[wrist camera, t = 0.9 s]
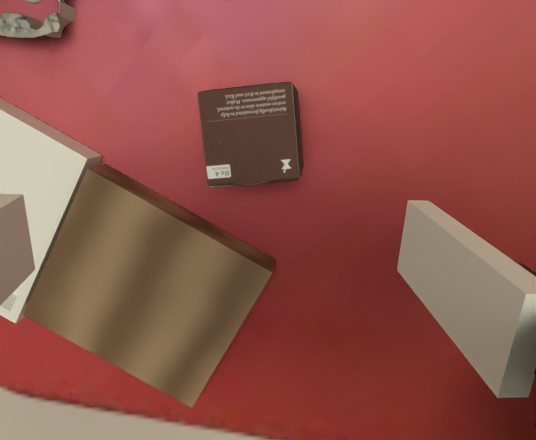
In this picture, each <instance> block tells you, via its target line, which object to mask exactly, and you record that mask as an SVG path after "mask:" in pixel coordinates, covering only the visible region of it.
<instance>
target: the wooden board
mask: <svg viewBox="0 0 536 440" xmlns="http://www.w3.org/2000/svg"><path fill="white" fill-rule="evenodd" d="M275 263H276V260H275V259H273V258H271V257H269V256H267V255H266V254H264V253H262V252H260V251H259V250H257V249H255V248H253V247H252V246H250V245H248V244H246V243H244V242H243V241H241V240H239V239H237V238H236V237H234V236H232V235H230V234H229V233H227V232H225V231H223V230H221V229H220V228H218V227H216V226H214V225H213V224H211V223H209V222H207V221H206V220H204V219H202V218H200V217H198V216H197V215H195V214H193V213H191V212H190V211H188V210H186V209H184V208H182V207H181V206H179V205H177V204H175V203H174V202H172V201H170V200H168V199H167V198H165V197H163V196H161V195H159V194H158V193H156V192H154V191H152V190H151V189H149V188H147V187H145V186H144V185H142V184H140V183H138V182H136V181H135V180H133V179H131V178H129V177H128V176H126V175H124V174H122V173H121V172H119V171H117V170H115V169H113V168H112V167H110V166H108V165H106V164H105V165H100V166H96V167H91V168H87V170H86V173H85V175H84V177H83V179H82V182H81V184H80V186H79V189H78V191H77V193H76V195H75V198H74V200H73V202H72V205H71V207H70V209H69V211H68V214H67V216H66V218H65V220H64V223H63V225H62V227H61V230H60V232H59V234H58V236H57V239H56V241H55V243H54V246H53V248H52V250H51V252H50V255H49V257H48V259H47V262H46V264H45V266H44V268H43V271H42V273H41V275H40V278H39V280H38V282H37V284H36V287H35V289H34V291H33V293H32V296H31V298H30V300H29V303H28V305H27V307H26V309H25V312H24V314H23V315H24V316H26V317H27V318H29V319H31V320H33V321H35V322H37V323H38V324H40V325H42V326H44V327H46V328H47V329H49V330H51V331H53V332H55V333H56V334H58V335H60V336H62V337H64V338H66V339H67V340H69V341H71V342H73V343H75V344H76V345H78V346H80V347H82V348H84V349H86V350H87V351H89V352H91V353H93V354H95V355H96V356H98V357H100V358H102V359H104V360H106V361H107V362H109V363H111V364H113V365H115V366H116V367H118V368H120V369H122V370H124V371H125V372H127V373H129V374H131V375H133V376H135V377H136V378H138V379H140V380H142V381H144V382H145V383H147V384H149V385H151V386H153V387H155V388H156V389H158V390H160V391H162V392H164V393H165V394H167V395H169V396H171V397H173V398H174V399H176V400H178V401H180V402H182V403H184V404H185V405H187V406H189V407H191V408H192V407H193V405H194V403H195V402H196V400H197V398H198V397H199V395H200V393H201V392H202V390H203V388H204V387H205V385H206V383H207V382H208V380H209V378H210V377H211V375H212V373H213V372H214V370H215V368H216V367H217V365H218V363H219V362H220V360H221V358H222V357H223V355H224V353H225V352H226V350H227V348H228V347H229V345H230V343H231V342H232V340H233V338H234V337H235V335H236V333H237V332H238V330H239V328H240V327H241V325H242V323H243V322H244V320H245V318H246V317H247V315H248V313H249V312H250V310H251V308H252V307H253V305H254V304H255V302H256V300H257V299H258V297H259V295H260V294H261V292H262V290H263V289H264V287H265V285H266V284H267V282H268V280H269V279H270V277H271V275H272V274H273V271H274V267H275Z"/></svg>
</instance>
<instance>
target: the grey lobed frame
mask: <svg viewBox="0 0 536 440" xmlns="http://www.w3.org/2000/svg"><path fill="white" fill-rule="evenodd" d="M25 1H27V2H29V3H32V4H36V3H39V2H41V1H42V0H25ZM57 1H58V2H59V4H60V10H59V12H58V13H53V14H52V15H48V16H47V17H46V18H45V22H44V23H43V24H42V23H41V22H40V21H38V20H35V19H32V18H30V17H27V16H25V15H22V14H19V13H7V12H4V13H3V15H2V17H1V18H0V35H2V36H8V37H19V38H34V37H39V36H42V35H45V36H48V37H54V38H60V37H61V36H62V31H63V29H64V27H65V26H66V25H68V24H69V23H72V22H74V21H75V8H73V7H71V6H69V5H67V4H66V3H65V2H64V0H57Z"/></svg>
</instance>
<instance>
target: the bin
mask: <svg viewBox="0 0 536 440" xmlns="http://www.w3.org/2000/svg"><path fill="white" fill-rule="evenodd" d="M102 157H103V156H102V155H101V154H99V153H97V152H95V151H93V150H92V149H90V148H88V147H86V146H85V145H83V144H81V143H79V142H78V141H76V140H74V139H72V138H70V137H69V136H67V135H65V134H63V133H62V132H60V131H58V130H56V129H55V128H53V127H51V126H49V125H47V124H46V123H44V122H42V121H40V120H39V119H37V118H35V117H33V116H32V115H30V114H28V113H26V112H24V111H23V110H21V109H19V108H17V107H16V106H14V105H12V104H10V103H9V102H7V101H5V100H3V99H1V98H0V194H23V195H24V201H25V208H26V214H27V220H28V226H29V233H30V239H31V245H32V251H33V257H34V264H35V270H34V271H33V272H32V273H31V274H30V275H29V276H28V278H27V279H26V280H25V281H24V282H23V283H22V284H21V285H20V286H19V287H18V288H17V289H16V290H15V291H14V292H13V293H12V294H11V295H10V296H9V297H8V298H7V299H6V300H5V301H4V302H3V303H2V305H1V306H0V315H1V316H3V317H5V318H6V319H8V320H10V321H12V322H14V323H17V322H18V321H20V320H21V319H23V318H24V317H26V316H24V315H23V314H24V312H25V309H26V307H27V305H28V303H29V300H30V298H31V296H32V293H33V291H34V289H35V287H36V284H37V282H38V280H39V278H40V275H41V273H42V271H43V268H44V266H45V264H46V262H47V259H48V257H49V255H50V252H51V250H52V248H53V246H54V243H55V241H56V239H57V236H58V234H59V232H60V230H61V227H62V225H63V223H64V220H65V218H66V216H67V214H68V211H69V209H70V207H71V205H72V202H73V200H74V198H75V195H76V193H77V191H78V189H79V186H80V184H81V182H82V179H83V177H84V175H85V173H86V170H87V168H91V167H96V166H99V164H100V161H101V159H102Z"/></svg>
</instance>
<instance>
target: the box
mask: <svg viewBox="0 0 536 440" xmlns="http://www.w3.org/2000/svg"><path fill="white" fill-rule="evenodd" d="M197 96H198V103H199V113H200V120H201V128H202V137H203V145H204V153H205V162H206V171H207V180H208V186H209V187H223V186H235V185H246V184H247V185H255V184H261V183H273V182H288V181H297V180H299V179H300V178H301V173H302V169H303V149H302V135H301V123H300V111H299V100H298V91H297V89H296V88H295V86H294V85H293V84H292V82H282V83H271V84H261V85H251V86H243V87H233V88H225V89H215V90H208V91H201V92H198V93H197Z"/></svg>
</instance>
